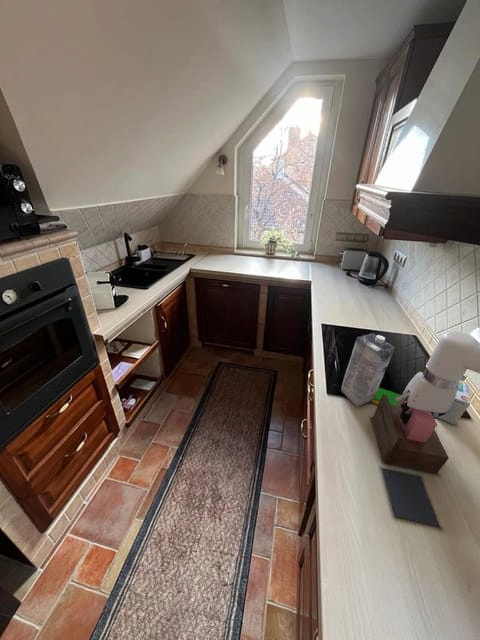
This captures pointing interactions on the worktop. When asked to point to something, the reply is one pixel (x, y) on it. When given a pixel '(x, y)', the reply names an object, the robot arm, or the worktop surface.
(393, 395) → the dish sponge
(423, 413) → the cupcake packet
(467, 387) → the light bulb box
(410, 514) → the slate mat
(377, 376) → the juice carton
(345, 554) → the worktop surface
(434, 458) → the walnut shelf
